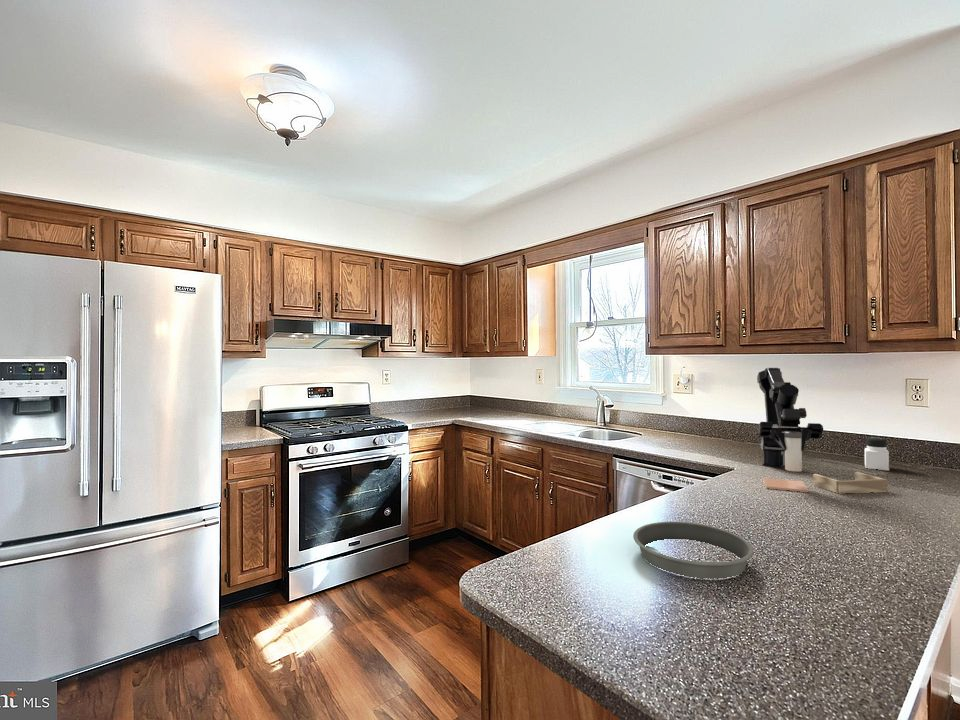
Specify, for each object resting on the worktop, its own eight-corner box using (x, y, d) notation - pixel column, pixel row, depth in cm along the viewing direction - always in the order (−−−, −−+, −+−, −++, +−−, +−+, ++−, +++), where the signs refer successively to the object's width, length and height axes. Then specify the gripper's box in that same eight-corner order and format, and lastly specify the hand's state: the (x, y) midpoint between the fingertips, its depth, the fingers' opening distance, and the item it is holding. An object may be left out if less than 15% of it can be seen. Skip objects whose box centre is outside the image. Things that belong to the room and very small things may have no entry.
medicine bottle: (889, 471, 180) (889, 440, 180) (865, 468, 184) (865, 438, 184) (887, 467, 186) (887, 437, 186) (864, 465, 190) (864, 435, 190)
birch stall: (813, 485, 162) (813, 474, 162) (858, 483, 164) (857, 471, 164) (839, 494, 151) (839, 482, 151) (887, 491, 153) (887, 479, 153)
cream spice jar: (781, 468, 162) (780, 431, 162) (792, 467, 164) (792, 430, 164) (794, 472, 158) (793, 433, 158) (805, 470, 159) (805, 432, 159)
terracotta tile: (763, 480, 170) (763, 478, 170) (802, 483, 164) (802, 481, 164) (766, 488, 159) (766, 486, 159) (808, 492, 154) (808, 490, 154)
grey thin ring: (654, 531, 123) (654, 514, 123) (762, 555, 107) (762, 535, 107) (616, 564, 104) (616, 543, 104) (741, 598, 88) (740, 574, 88)
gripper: (759, 399, 168) (765, 434, 158) (821, 400, 161) (832, 437, 151) (755, 418, 175) (761, 453, 165) (815, 420, 168) (825, 456, 158)
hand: (793, 450), depth 159 cm, fingers closed on cream spice jar, 5 cm apart
